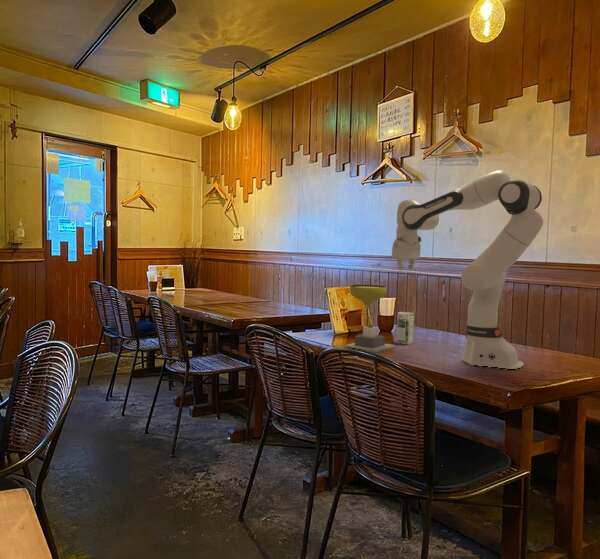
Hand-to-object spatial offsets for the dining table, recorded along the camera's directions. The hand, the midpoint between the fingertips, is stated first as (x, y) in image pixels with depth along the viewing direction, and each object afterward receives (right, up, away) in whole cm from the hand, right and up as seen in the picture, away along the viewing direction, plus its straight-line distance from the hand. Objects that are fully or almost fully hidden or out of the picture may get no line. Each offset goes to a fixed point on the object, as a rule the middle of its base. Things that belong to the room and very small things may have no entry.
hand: (405, 269), depth 218 cm
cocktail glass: (-13, -33, +31) cm, 47 cm away
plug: (-15, -34, +3) cm, 37 cm away
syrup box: (+3, -34, +14) cm, 37 cm away
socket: (-15, -35, +3) cm, 38 cm away
